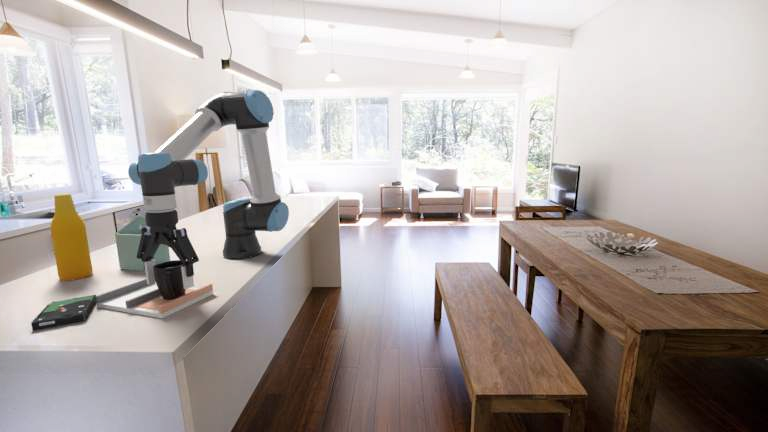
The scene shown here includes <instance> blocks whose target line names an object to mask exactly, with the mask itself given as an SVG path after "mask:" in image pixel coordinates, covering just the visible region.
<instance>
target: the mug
mask: <svg viewBox="0 0 768 432" xmlns="http://www.w3.org/2000/svg"><path fill="white" fill-rule="evenodd" d="M182 265H183V263H182V262H181V261H180V259H175V260H170V261H166V262H162V263H159V264H156V265H154V266H153V270H154V278H155V281H156V282H155V283H156V284H157V287H158V289H159V291H160V293H161V295H162V297H163V299H166V300H171V299H176V298H179V297H181V296H183V295H185V291H186V289H184V287H183V278H182V270H181V266H182Z"/></svg>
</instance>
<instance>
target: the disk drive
mask: <svg viewBox="0 0 768 432" xmlns="http://www.w3.org/2000/svg"><path fill="white" fill-rule="evenodd" d="M95 296H97V295H96V294H93V295H87V296H80V297H72V298H70V299H65V300H58V301H52V302H49V304H47V305H46V306H45V307H44V309H42V310H41V311H40V313H39V314H37V316H36V317H35V318H34V319H33V320H32V321H31V329H32V331H33V332H36V331H40V330H45V329H51V328H52V329H53V328H56V327H62V326H68V325H73V324H74V325H75V324H78V323H84V322H86V321H87V320H88V317H90V314H91V313H92V311H93V309H94V307H95V306H97V304H96V298H95Z"/></svg>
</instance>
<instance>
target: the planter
mask: <svg viewBox="0 0 768 432" xmlns="http://www.w3.org/2000/svg"><path fill="white" fill-rule="evenodd" d="M140 225H141V228H143V227H148V226H147V225H146V219H145V216H142V215H140V214H139V215H137V216H136V217H134V218H133V219H132V220H131V221H129V222H128V223H127V224H126V225H124V226H123V227H122V228H120V229H119V230H117V232H115V233H114V236H115V244H116V250H117V257H118V263H119V269H120V268H121V269H120V270H122V269H130V270H129V271H134V270H140V271H139V272H145V271H144V270H145V269H144V262H143V261H142V260H141V259H137V252H138V248H139V244H140V240H141V228H140ZM142 254H143V253H142ZM153 257H154V259H151V260H155V263H156V264H159V263H162V262H166V261H171V255H170V247H168V246H167V245H163V244H160V245H159V247H158V249H157V251H156V253H155V255H154V256H153Z"/></svg>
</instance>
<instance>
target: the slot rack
mask: <svg viewBox="0 0 768 432" xmlns="http://www.w3.org/2000/svg"><path fill="white" fill-rule="evenodd" d="M213 289H214V288H213V283H209V284H207V285H204V286H202V287H200V288H197V287H191V288H188V289H186V291H185V295H183V296H181V297H179V298H176V299H171V300H166V299H163V297H162V295H161V293H160V291H159V289H158V287H157V284H156V282H155V283H152V284H147V278H144V279H141V280H138V281H135V282H133V283H130V284H126V285H124V286H121V287H118V288H114V289H112V290H109V291H107V292H104V293H101V294H98V295H96V296H95V298H96V308H100V309H105V310H110V311H116V312H123V313H127V314H128V313H129V314H134V315H140V316H145V317H152V318H157V319H164V318H167V317H169V316H170V315H171V316H172V315H173V314H175V313H177V312H179V311H181V310H183V309H185V308H187V307H189V306H192V305H194V304H195V303H198V302H200V301H203V300H204V299H206V298H208V297H210V296H213V295H214V290H213Z"/></svg>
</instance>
